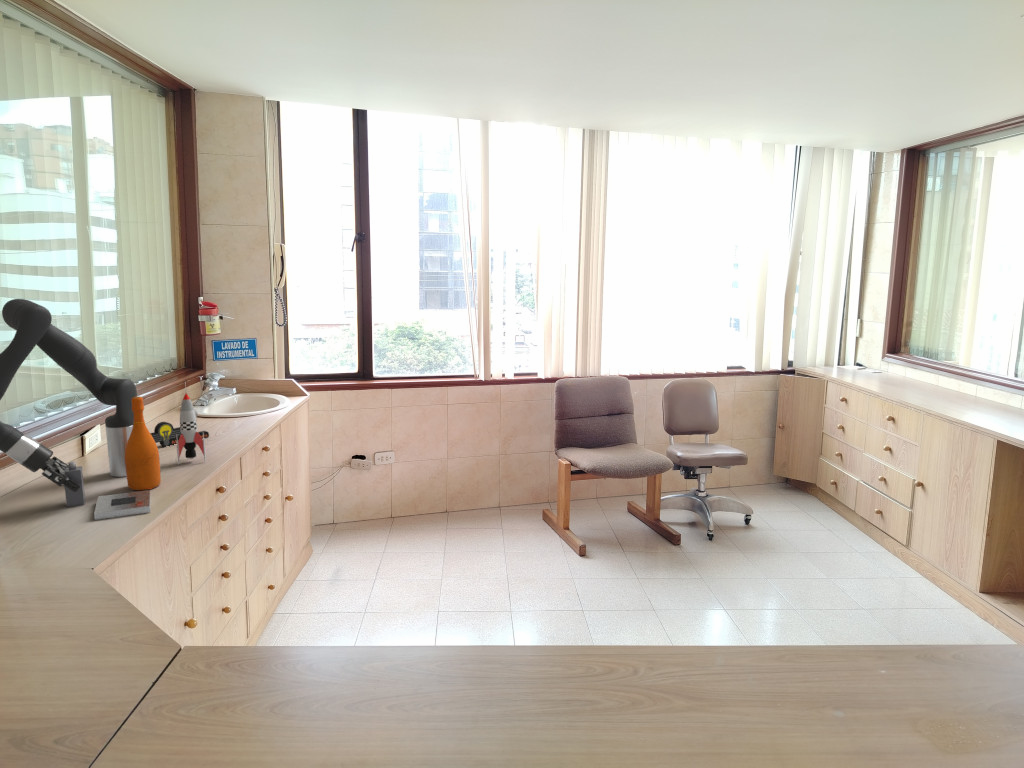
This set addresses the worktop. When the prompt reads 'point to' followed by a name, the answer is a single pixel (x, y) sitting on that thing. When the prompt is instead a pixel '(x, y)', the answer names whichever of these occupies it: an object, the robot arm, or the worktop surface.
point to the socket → (122, 504)
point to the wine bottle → (141, 453)
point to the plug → (77, 477)
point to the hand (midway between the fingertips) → (79, 485)
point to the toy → (189, 430)
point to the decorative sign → (169, 434)
